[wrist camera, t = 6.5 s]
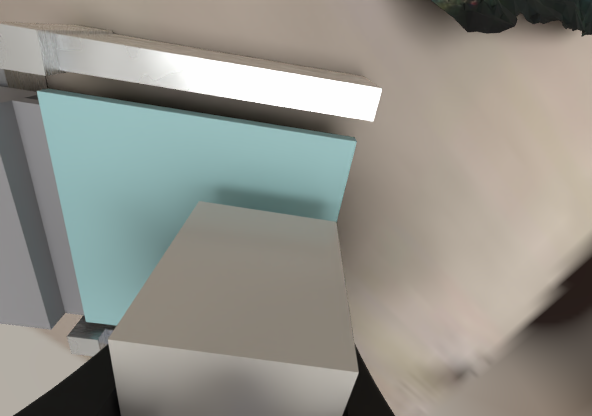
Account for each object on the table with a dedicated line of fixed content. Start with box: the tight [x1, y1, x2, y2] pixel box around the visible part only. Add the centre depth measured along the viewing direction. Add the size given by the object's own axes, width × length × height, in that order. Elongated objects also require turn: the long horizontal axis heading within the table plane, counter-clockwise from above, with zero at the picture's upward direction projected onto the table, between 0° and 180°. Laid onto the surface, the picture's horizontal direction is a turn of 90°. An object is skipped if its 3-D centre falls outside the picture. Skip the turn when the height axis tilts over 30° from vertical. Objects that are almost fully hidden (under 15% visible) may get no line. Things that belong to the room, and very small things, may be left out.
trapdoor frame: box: [0, 22, 382, 356], centre depth 17 cm, size 16×17×5 cm
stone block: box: [108, 201, 359, 416], centre depth 11 cm, size 7×5×6 cm
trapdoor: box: [0, 86, 357, 329], centre depth 15 cm, size 12×18×3 cm, turn 81°
